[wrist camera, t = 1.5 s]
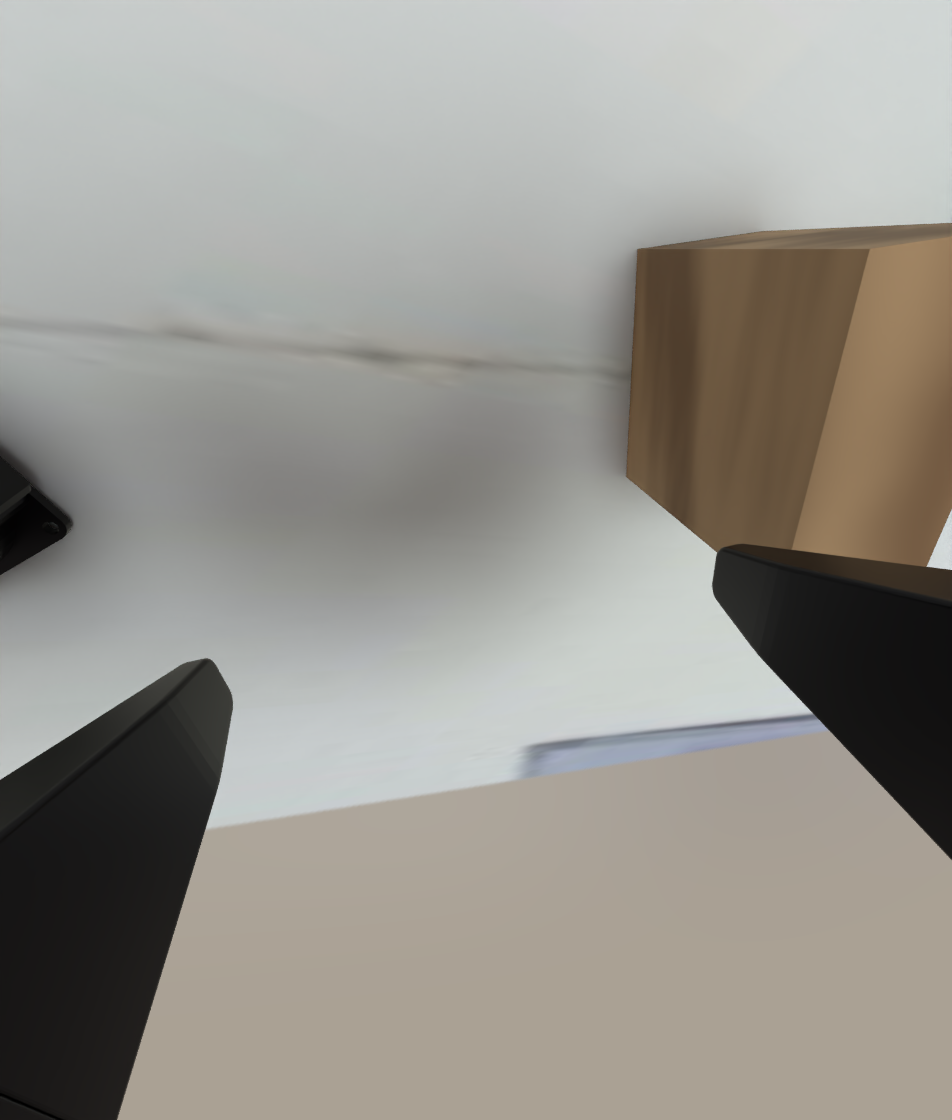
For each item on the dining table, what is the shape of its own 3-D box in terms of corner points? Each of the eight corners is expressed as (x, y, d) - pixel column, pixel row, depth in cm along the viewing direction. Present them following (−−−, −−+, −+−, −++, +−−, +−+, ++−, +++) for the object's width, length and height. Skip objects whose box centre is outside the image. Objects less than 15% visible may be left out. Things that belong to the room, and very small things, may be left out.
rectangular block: (626, 476, 23) (777, 602, 15) (637, 249, 19) (869, 248, 10) (876, 427, 25) (1141, 518, 17) (947, 204, 20) (1371, 172, 12)
